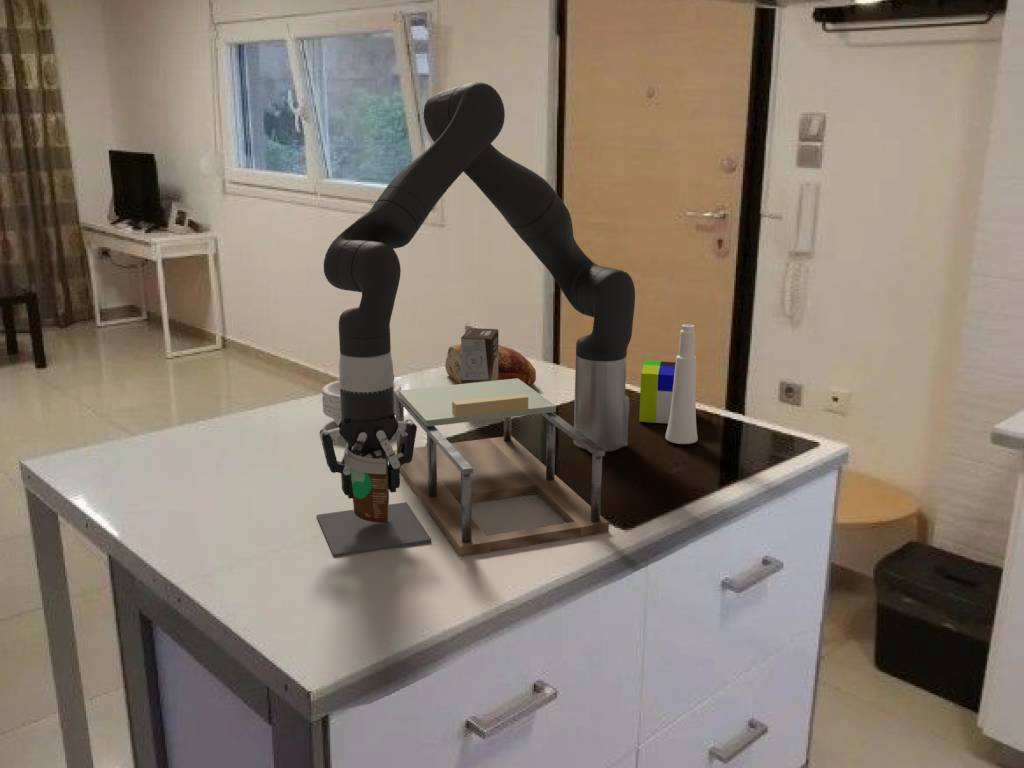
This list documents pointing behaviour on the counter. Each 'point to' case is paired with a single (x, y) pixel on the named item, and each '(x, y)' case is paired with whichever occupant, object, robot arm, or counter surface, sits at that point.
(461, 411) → the sliding cover
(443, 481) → the wooden base board
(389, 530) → the charcoal mat
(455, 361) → the bread
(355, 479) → the food container
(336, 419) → the paper bowls
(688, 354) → the cosmetic bottle
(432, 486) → the cover rails
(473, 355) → the coffee box
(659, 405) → the puzzle toy
